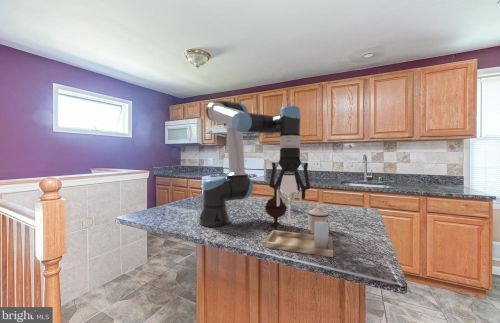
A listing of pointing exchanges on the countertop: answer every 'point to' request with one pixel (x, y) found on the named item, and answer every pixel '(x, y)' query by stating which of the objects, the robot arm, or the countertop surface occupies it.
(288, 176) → the wineglass
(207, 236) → the countertop surface
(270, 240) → the tray
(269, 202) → the ice cream bowl
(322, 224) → the white rounded capsule
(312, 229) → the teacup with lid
